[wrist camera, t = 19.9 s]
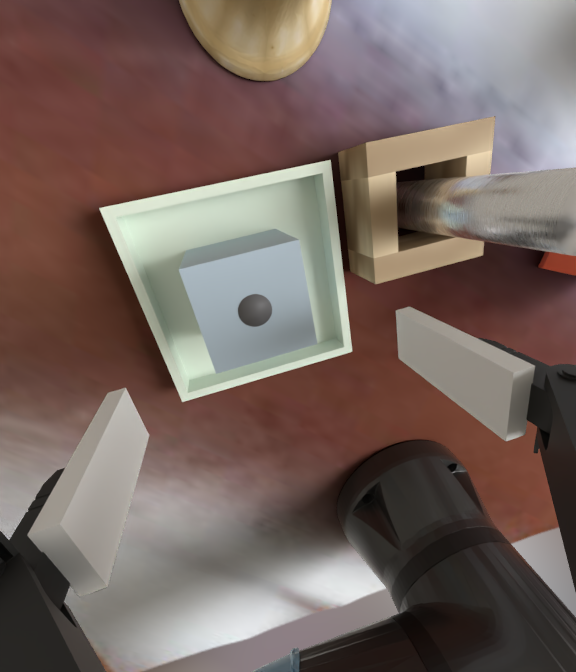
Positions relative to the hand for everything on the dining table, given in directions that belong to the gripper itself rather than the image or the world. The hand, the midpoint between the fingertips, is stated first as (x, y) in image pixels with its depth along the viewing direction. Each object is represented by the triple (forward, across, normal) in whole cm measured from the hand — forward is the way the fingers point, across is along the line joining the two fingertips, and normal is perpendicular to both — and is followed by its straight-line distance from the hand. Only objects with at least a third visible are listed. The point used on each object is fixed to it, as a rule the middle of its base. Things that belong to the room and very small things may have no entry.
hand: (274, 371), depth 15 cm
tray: (+9, 0, -2) cm, 9 cm away
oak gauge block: (+9, -12, -5) cm, 16 cm away
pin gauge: (+9, -12, -5) cm, 16 cm away
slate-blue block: (+9, 0, -2) cm, 9 cm away
